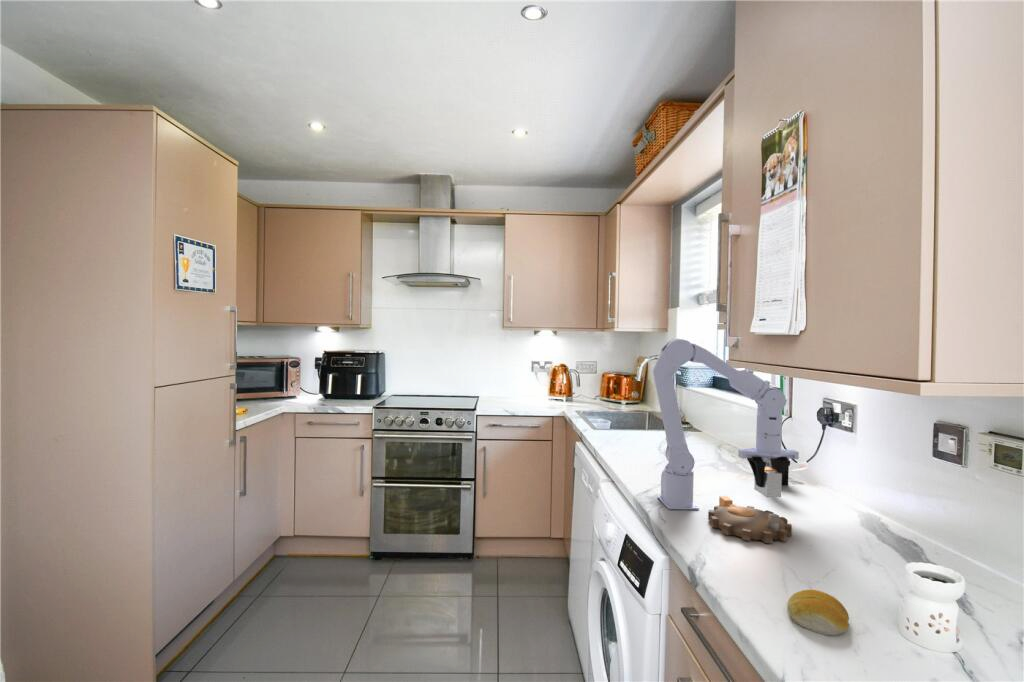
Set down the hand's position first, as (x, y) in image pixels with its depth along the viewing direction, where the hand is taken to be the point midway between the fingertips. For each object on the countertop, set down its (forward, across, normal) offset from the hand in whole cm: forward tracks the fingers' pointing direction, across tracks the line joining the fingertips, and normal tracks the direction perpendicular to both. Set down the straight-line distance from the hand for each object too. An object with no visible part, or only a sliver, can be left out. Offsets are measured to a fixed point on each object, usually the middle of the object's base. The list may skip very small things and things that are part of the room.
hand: (767, 486), depth 121 cm
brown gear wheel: (+7, -10, -10) cm, 16 cm away
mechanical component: (+7, +9, +15) cm, 19 cm away
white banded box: (+2, 0, 0) cm, 2 cm away
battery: (+7, +17, +25) cm, 31 cm away
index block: (+7, -10, +2) cm, 12 cm away
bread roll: (+7, -17, -46) cm, 49 cm away
